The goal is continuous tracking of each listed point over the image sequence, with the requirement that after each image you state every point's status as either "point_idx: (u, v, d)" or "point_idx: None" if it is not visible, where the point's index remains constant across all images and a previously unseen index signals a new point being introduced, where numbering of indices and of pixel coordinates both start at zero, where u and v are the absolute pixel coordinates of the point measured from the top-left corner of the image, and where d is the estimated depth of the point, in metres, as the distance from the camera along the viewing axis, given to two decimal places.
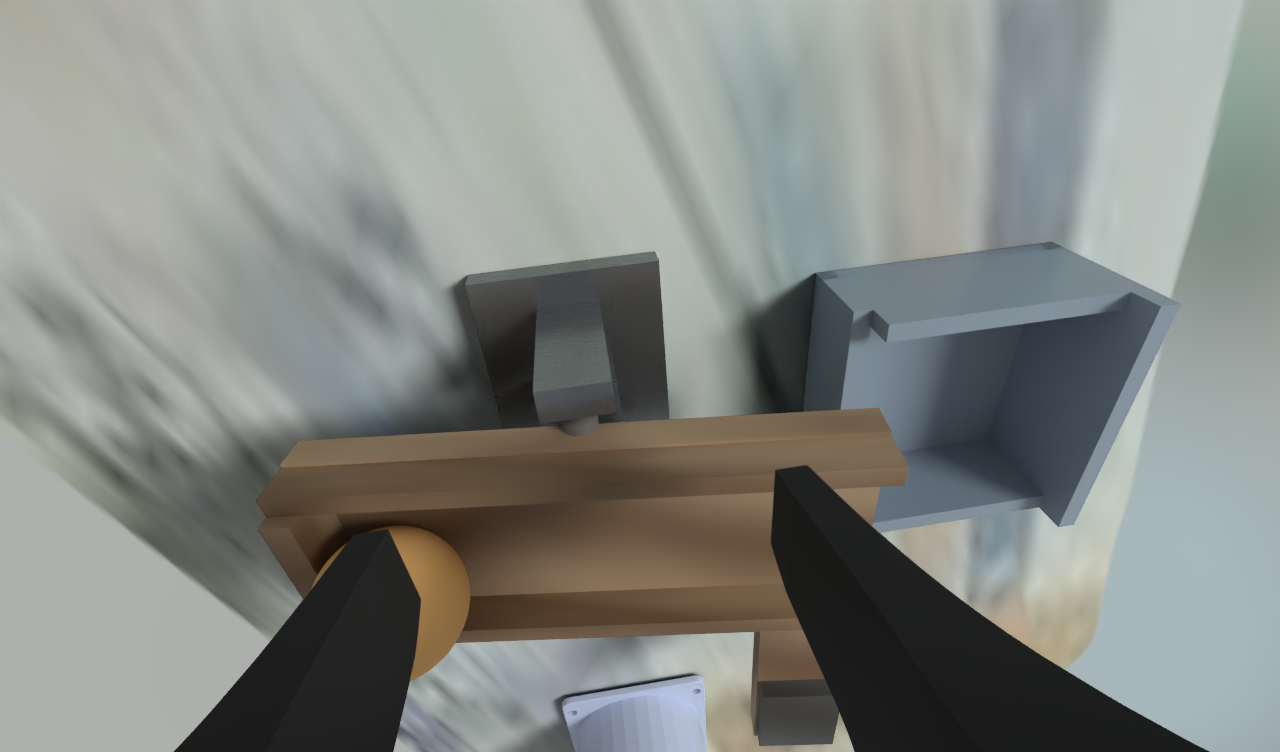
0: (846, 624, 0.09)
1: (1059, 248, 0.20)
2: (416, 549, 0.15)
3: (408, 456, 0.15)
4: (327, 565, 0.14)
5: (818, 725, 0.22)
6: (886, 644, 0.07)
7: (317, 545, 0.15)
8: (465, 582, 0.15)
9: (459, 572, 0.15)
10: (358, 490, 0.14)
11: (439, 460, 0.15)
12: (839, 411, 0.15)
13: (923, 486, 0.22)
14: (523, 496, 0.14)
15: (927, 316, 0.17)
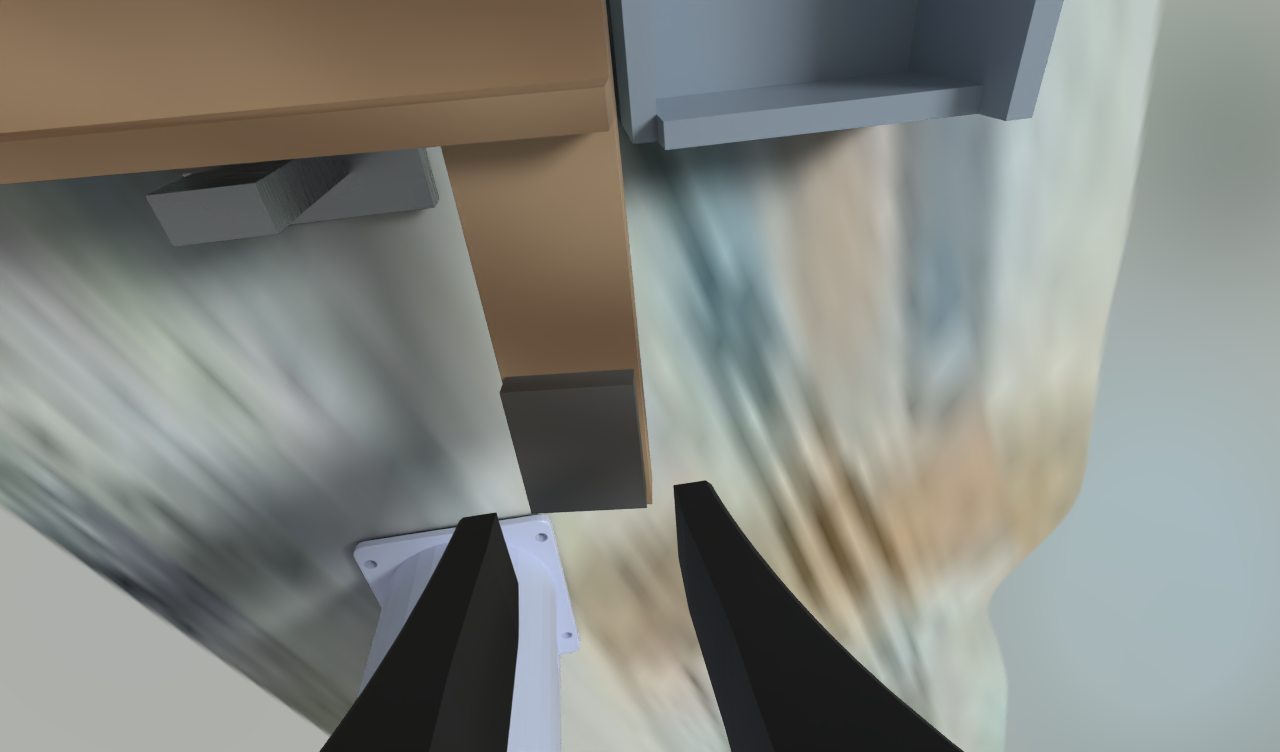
0: (720, 646, 0.08)
1: None
2: None
3: None
4: None
5: (612, 462, 0.13)
6: (740, 669, 0.07)
7: None
8: None
9: None
10: None
11: None
12: None
13: (794, 96, 0.14)
14: None
15: None
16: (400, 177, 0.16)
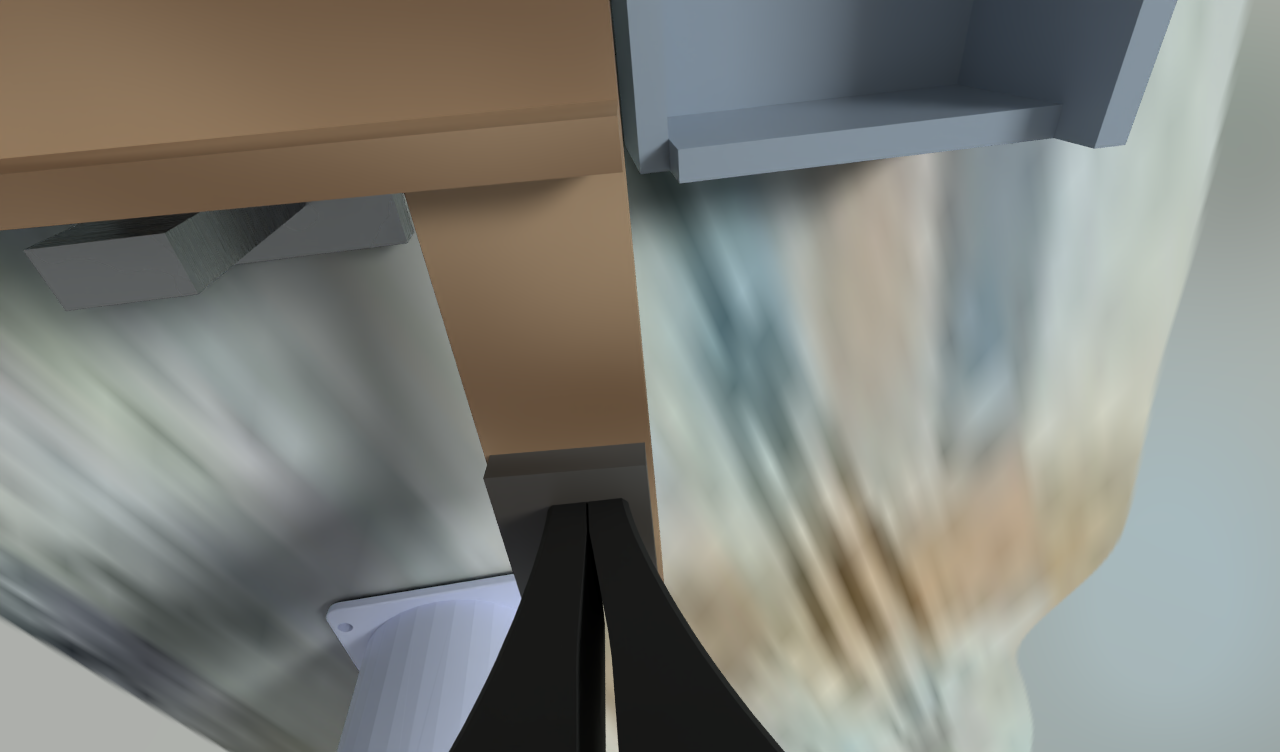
0: None
1: None
2: None
3: None
4: None
5: None
6: None
7: None
8: None
9: None
10: None
11: None
12: None
13: (831, 116, 0.12)
14: None
15: None
16: (366, 209, 0.13)
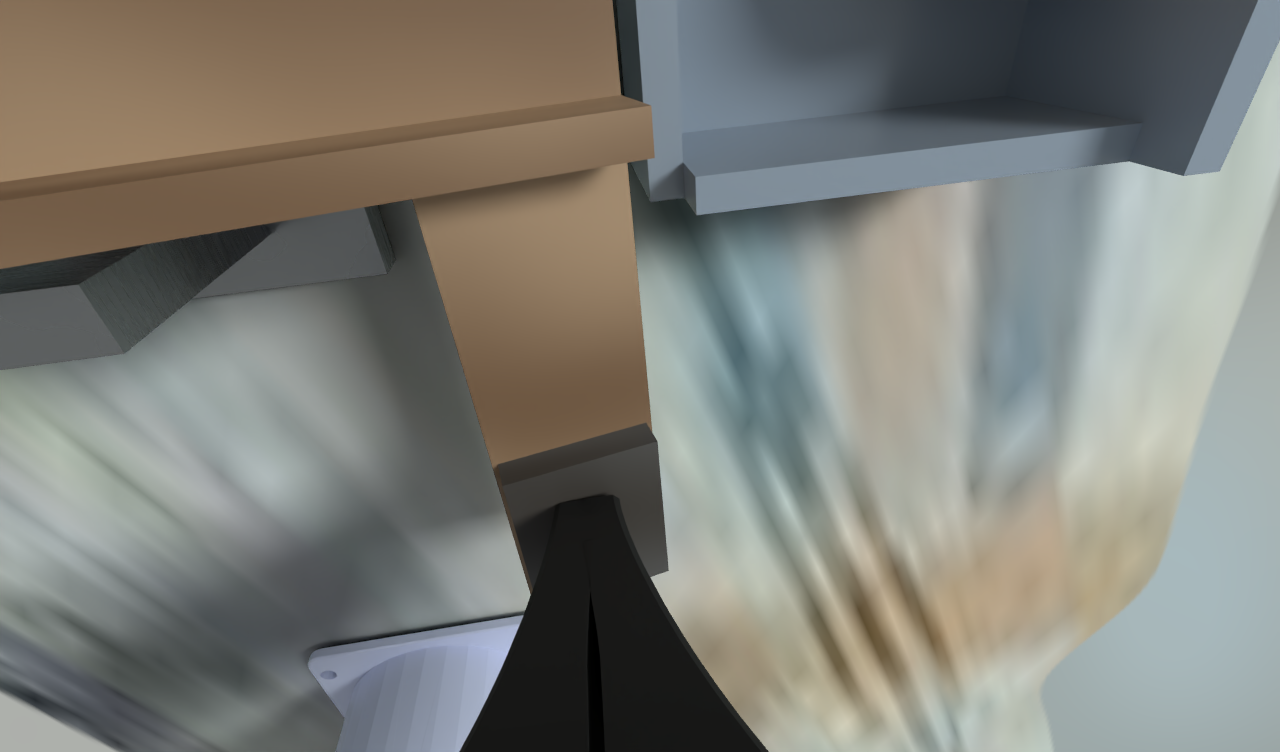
0: None
1: None
2: None
3: None
4: None
5: (633, 532, 0.11)
6: None
7: None
8: None
9: None
10: None
11: None
12: None
13: (870, 134, 0.10)
14: None
15: None
16: (340, 237, 0.12)
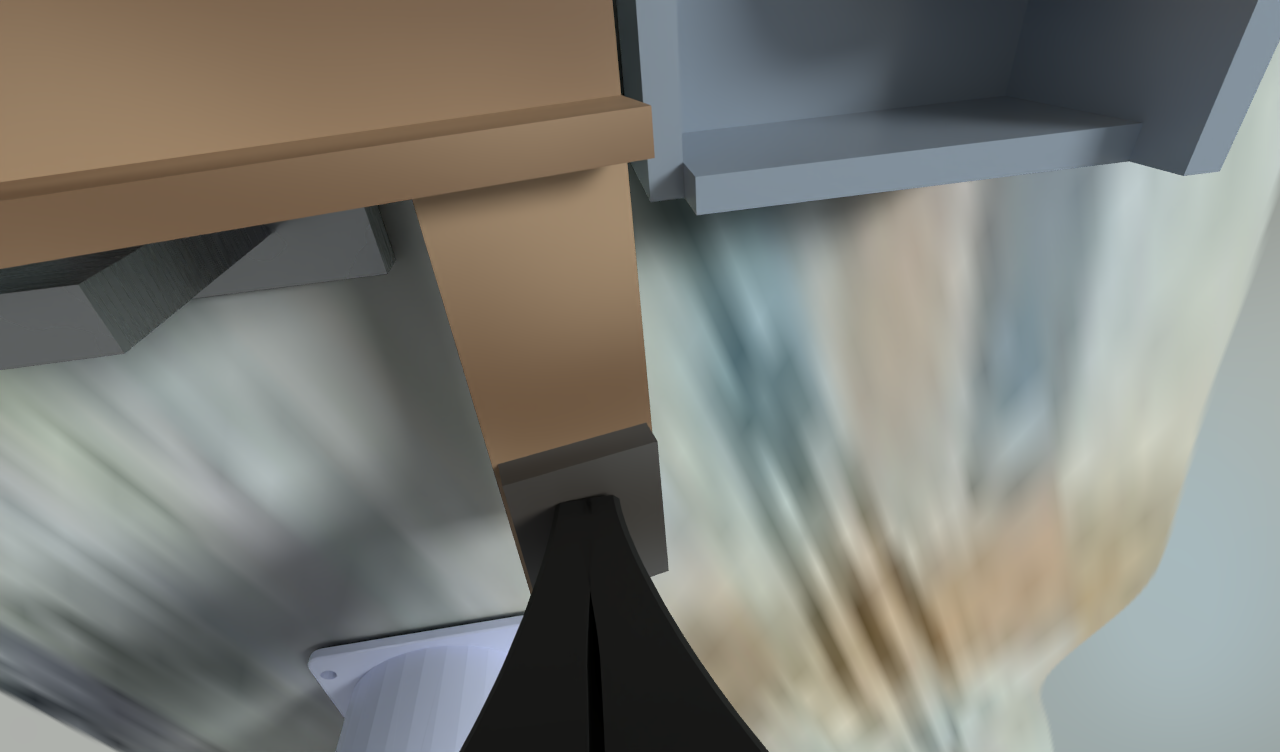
0: None
1: None
2: None
3: None
4: None
5: (633, 532, 0.11)
6: None
7: None
8: None
9: None
10: None
11: None
12: None
13: (870, 134, 0.10)
14: None
15: None
16: (340, 237, 0.12)
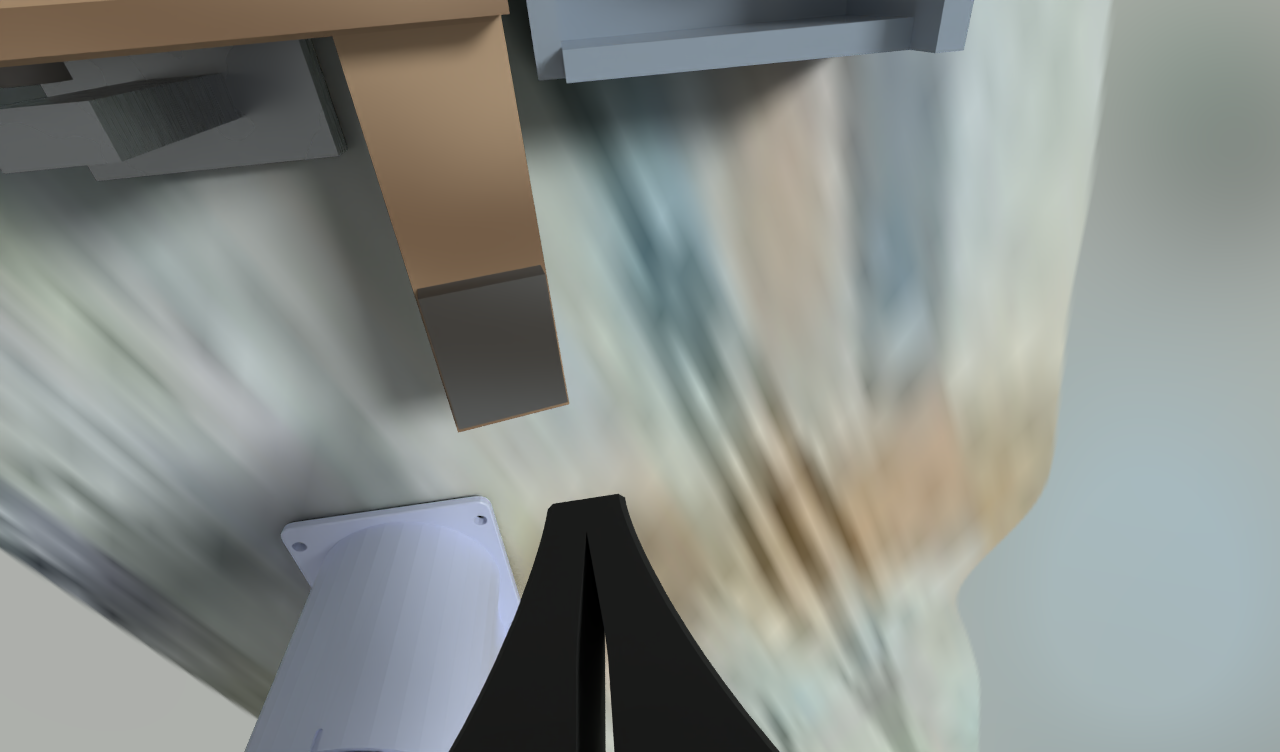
0: None
1: None
2: None
3: None
4: None
5: (533, 359, 0.14)
6: None
7: None
8: None
9: None
10: None
11: None
12: None
13: (714, 31, 0.13)
14: None
15: None
16: (298, 121, 0.14)
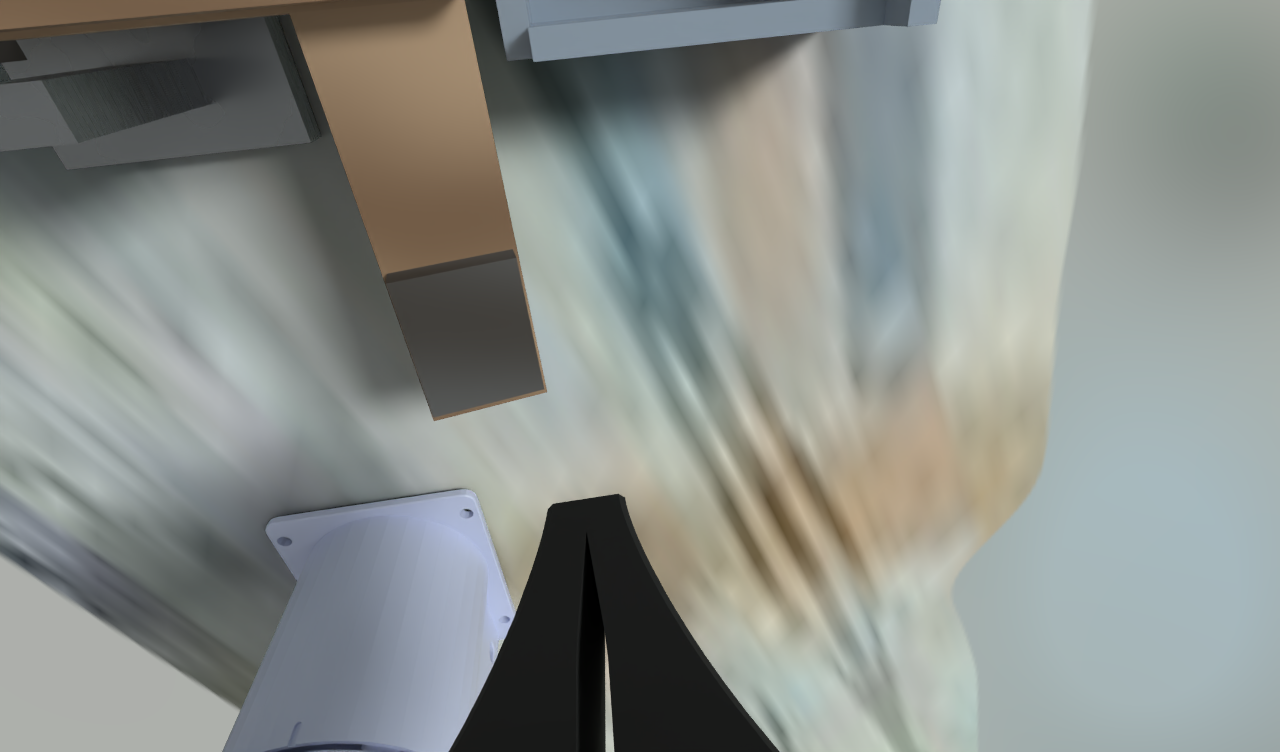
0: None
1: None
2: None
3: None
4: None
5: (506, 345, 0.14)
6: None
7: None
8: None
9: None
10: None
11: None
12: None
13: (685, 9, 0.13)
14: None
15: None
16: (269, 107, 0.14)
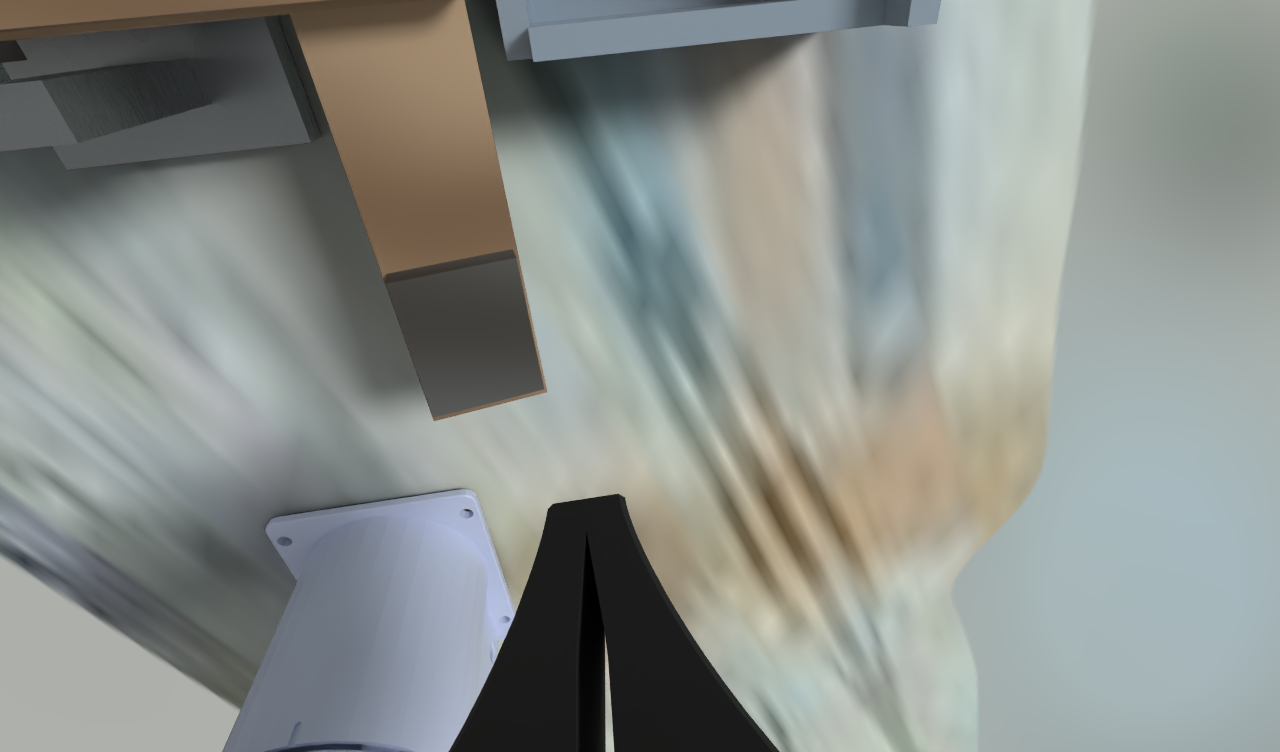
0: None
1: None
2: None
3: None
4: None
5: (506, 345, 0.14)
6: None
7: None
8: None
9: None
10: None
11: None
12: None
13: (685, 9, 0.13)
14: None
15: None
16: (269, 107, 0.14)
